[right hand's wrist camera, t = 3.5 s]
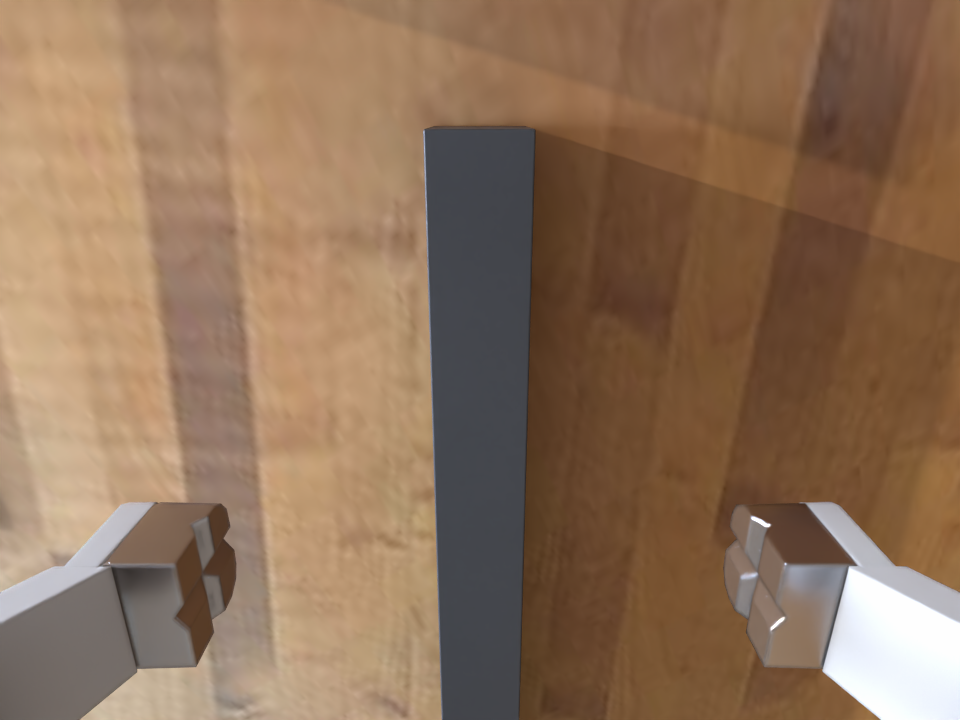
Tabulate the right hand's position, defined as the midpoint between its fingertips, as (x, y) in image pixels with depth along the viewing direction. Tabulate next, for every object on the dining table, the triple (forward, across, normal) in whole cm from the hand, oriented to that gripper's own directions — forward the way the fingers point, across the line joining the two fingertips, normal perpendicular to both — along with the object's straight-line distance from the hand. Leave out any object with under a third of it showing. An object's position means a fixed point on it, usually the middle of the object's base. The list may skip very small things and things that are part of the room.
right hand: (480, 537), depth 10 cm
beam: (+27, 0, -32) cm, 42 cm away
